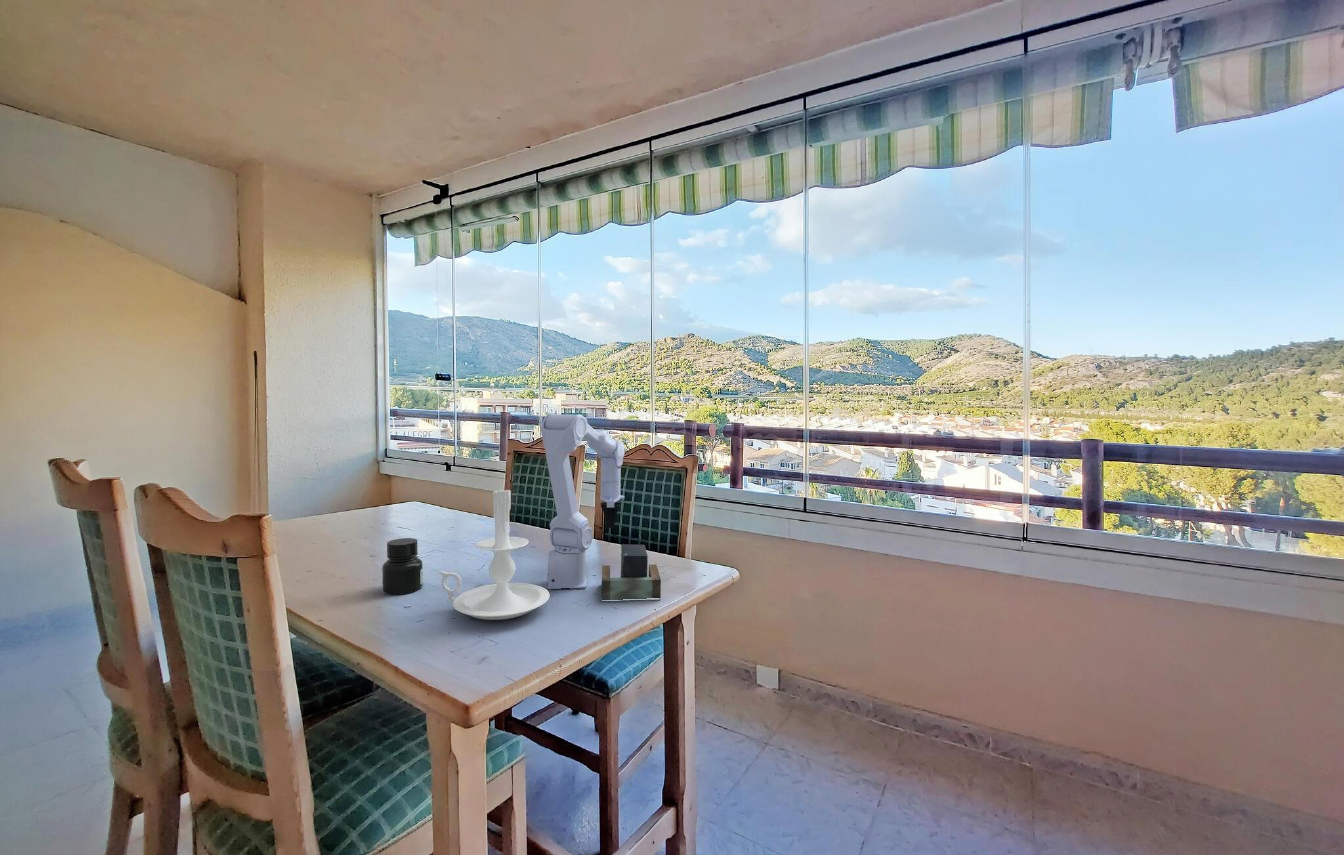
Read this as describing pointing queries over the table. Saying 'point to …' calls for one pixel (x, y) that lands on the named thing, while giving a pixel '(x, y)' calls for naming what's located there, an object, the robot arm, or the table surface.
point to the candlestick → (498, 575)
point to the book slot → (631, 585)
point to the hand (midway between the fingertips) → (610, 527)
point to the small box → (633, 561)
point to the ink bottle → (402, 567)
